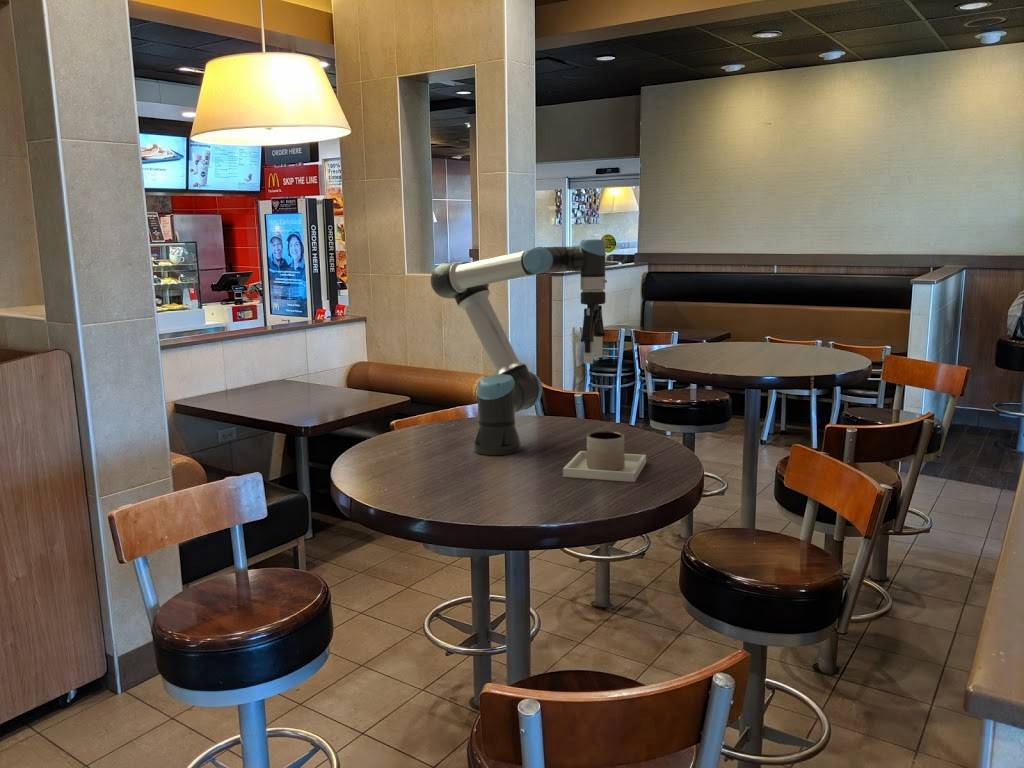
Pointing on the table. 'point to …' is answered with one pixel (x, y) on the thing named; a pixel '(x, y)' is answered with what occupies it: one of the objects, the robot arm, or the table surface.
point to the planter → (605, 450)
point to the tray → (627, 473)
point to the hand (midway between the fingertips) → (593, 360)
